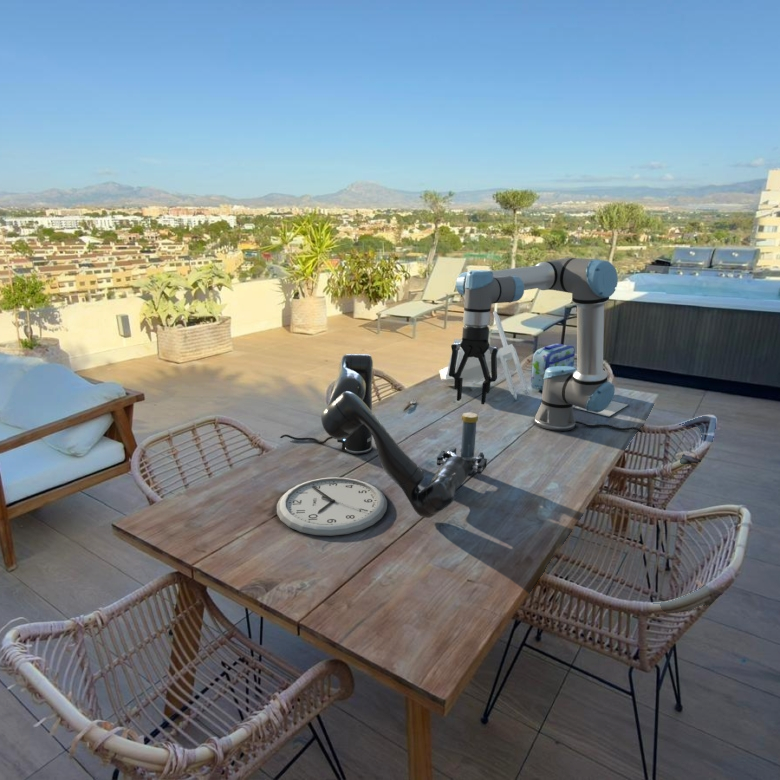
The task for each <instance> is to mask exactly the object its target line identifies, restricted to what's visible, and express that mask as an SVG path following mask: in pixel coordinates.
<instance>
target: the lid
mask: <svg viewBox="0 0 780 780" xmlns="http://www.w3.org/2000/svg"><path fill="white" fill-rule="evenodd" d="M461 416H462V417H461V420H462V422H463V421H464V422H467V423H475V422H476V423H477V422H478V419H479V415H478V414H477V413H475V412H463V413H462V415H461Z"/></svg>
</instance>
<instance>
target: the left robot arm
mask: <svg viewBox="0 0 780 780" xmlns="http://www.w3.org/2000/svg"><path fill="white" fill-rule="evenodd" d="M373 373H374V360H373V357H372V355H371V354H367V353H365V354H364V353H363V354H362V353H356V354H355V353H349V354H348V353H347V354H343V355H342V357H341V358H340V361H339V366H338V373H337V376H336V379H335V381H334V384H333V387H332V391H331V394H330V397H329V401H328V403H327V405H326V407H325V408H324V409H323V411H322V413H321V418H320V419H321V425H322V427H323V429H324V431H325V432H326V434H327V435H328V436H329V437H326V438H325V439H324V440H319V439H317V438H315V437H295V436H293V435H290V434H281V435H280V436H279V439H283V438H284V437H285V438H290V439H292V440H295V441H305V440H306V441H314V442H316V443H318V444H325V443H326V442H328V441H329V440H331V439H335V440H336V441H337V443H340V444H341V449H342V451H345V452H346V453H348V454H352V455H365V454H367V453H370V452H371V451H372V450H373V445H372V444H373V442H372V441H374V444H375V446H376V451H377V455H378V460H379V463H380V465H381V468H382V469H383V470H384V472H385V473H386V475H387V476H388V477H389V478H390V479H391V480H392V481H393V482H395V484H396V485H397V486H398V487H400V488H401V490H402V491H403V493H404V495H405V496H406V498H407V500H408V501H409V503H410V505H411V507H412V508H413V510H414V512H415V513H416V514H417V515H418V516H419V517H422V518H424V519H430V518H432V517H434V516H436V515H437V514H439V513H440V512H442V511H444V510H445V509H447V508H448V507H450V505H451V504H452V503H453V501H454V500H455V494H456V491H457V490H458V489H459V488H460V487H461V486H462V484H463V483H464V482H465V480H466V479H467V477H468V475H470V474H469V472H470V471H472V470H473V471H476V474H477V475H478V474H479V475H481V474H482V473H483V472H484V471H485V470H486V468H487V466H488V465H487V463H488V459H487V458H485V454H484V453H483V452H479V454H478V455H477V456H476V457H475V456H474V457H468V458H463V457H461V456H460V455H459V456H458V455H456V454H457V447H453V448H450V450H447V451H446V450H441V451H440V452H439V454H438V455H437V456H436V465H437V466H439V468H438V470H437V472H436V473H435V474H434V476H433V477H432V478H431V480H430V484H429V485H428V486H426V487H425V488H423V489H421V488H420V487H419V485H420V484H421V483H422V481H423V480H424V477H425V473H424V471H423V469H422V468H421V467H420V466H418V464H417V463H416V462H415V461H414V460H413V459H411V458H410V456H409V455H408V454H407V453H406V452H405V451H404V450H403V449H402V448H401V447H400V446H399V445H398V443H397V442H396V441H395V440H394V438H393V436H391V434H390V433H389V431H388V430H387V429H386V428H385V426H384V425H383V424H382V422H381V421H380V420H379V418H377V416H376V415H375V414H374V413H373V387H372V386H373Z"/></svg>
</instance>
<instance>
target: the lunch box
mask: <svg viewBox="0 0 780 780" xmlns="http://www.w3.org/2000/svg"><path fill="white" fill-rule="evenodd" d="M575 352H576V351H575V346H573V345H568V344H562V343H553V344H550V345H547V346H546V345H545V346H544V347H541V348H538V349H537V350H536V351H535V352H534V354H533V357H532V362H531V371H530V372H531V374H530V387H531V389H533V390H539V391H543V380H544V379H543V378H544V375H545V370H546V369H547V368H549V367H555V366H570V367H574V363H575Z"/></svg>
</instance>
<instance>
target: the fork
mask: <svg viewBox="0 0 780 780" xmlns="http://www.w3.org/2000/svg"><path fill="white" fill-rule="evenodd" d="M418 398H419V396H415V395H413V396H412V398H411V399H410V402H409V403H408V404H407V405H406V406H405V407H404V409H403V411H406V410H407V409H409V408H410V407H411V405H413V404H416V403H417V402H418Z"/></svg>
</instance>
